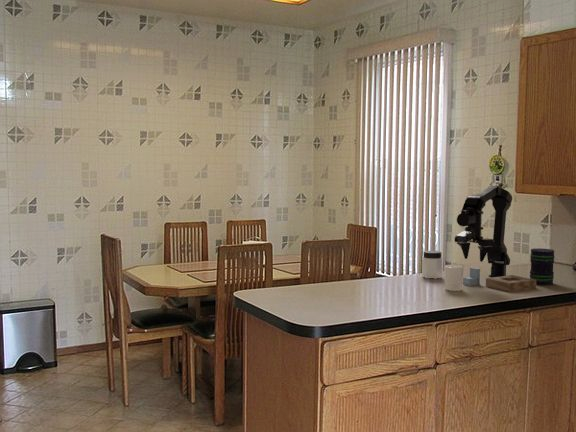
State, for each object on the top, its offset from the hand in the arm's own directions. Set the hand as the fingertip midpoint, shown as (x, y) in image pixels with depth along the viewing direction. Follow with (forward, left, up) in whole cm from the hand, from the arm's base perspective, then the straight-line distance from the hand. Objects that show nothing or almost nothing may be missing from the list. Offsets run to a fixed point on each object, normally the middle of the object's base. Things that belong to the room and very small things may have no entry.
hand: (473, 260), depth 275 cm
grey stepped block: (+1, 0, -11) cm, 11 cm away
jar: (+5, -21, -11) cm, 24 cm away
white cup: (+16, +5, -11) cm, 20 cm away
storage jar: (-28, +13, -11) cm, 33 cm away
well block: (-9, +13, -11) cm, 19 cm away
